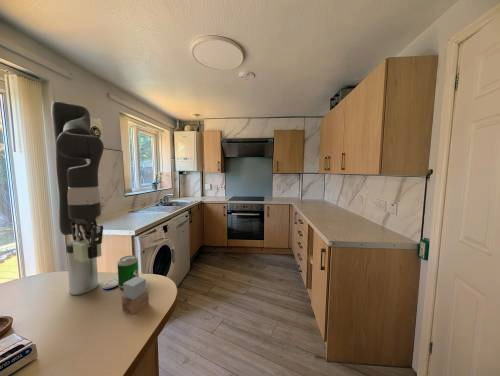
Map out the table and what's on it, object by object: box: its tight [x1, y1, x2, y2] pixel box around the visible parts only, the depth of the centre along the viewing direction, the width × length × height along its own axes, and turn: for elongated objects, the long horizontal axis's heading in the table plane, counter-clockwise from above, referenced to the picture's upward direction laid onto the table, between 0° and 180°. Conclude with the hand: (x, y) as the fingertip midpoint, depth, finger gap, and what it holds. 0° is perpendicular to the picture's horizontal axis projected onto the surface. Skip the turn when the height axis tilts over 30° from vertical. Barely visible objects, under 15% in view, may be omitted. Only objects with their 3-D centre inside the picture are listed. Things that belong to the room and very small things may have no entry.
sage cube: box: [73, 239, 103, 262], centre depth 61 cm, size 5×5×5 cm
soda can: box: [117, 255, 140, 289], centre depth 85 cm, size 8×8×12 cm
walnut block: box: [121, 290, 150, 316], centre depth 71 cm, size 6×6×5 cm
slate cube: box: [122, 276, 147, 300], centre depth 71 cm, size 5×5×5 cm
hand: (88, 255), depth 61 cm, fingers closed on sage cube, 5 cm apart
